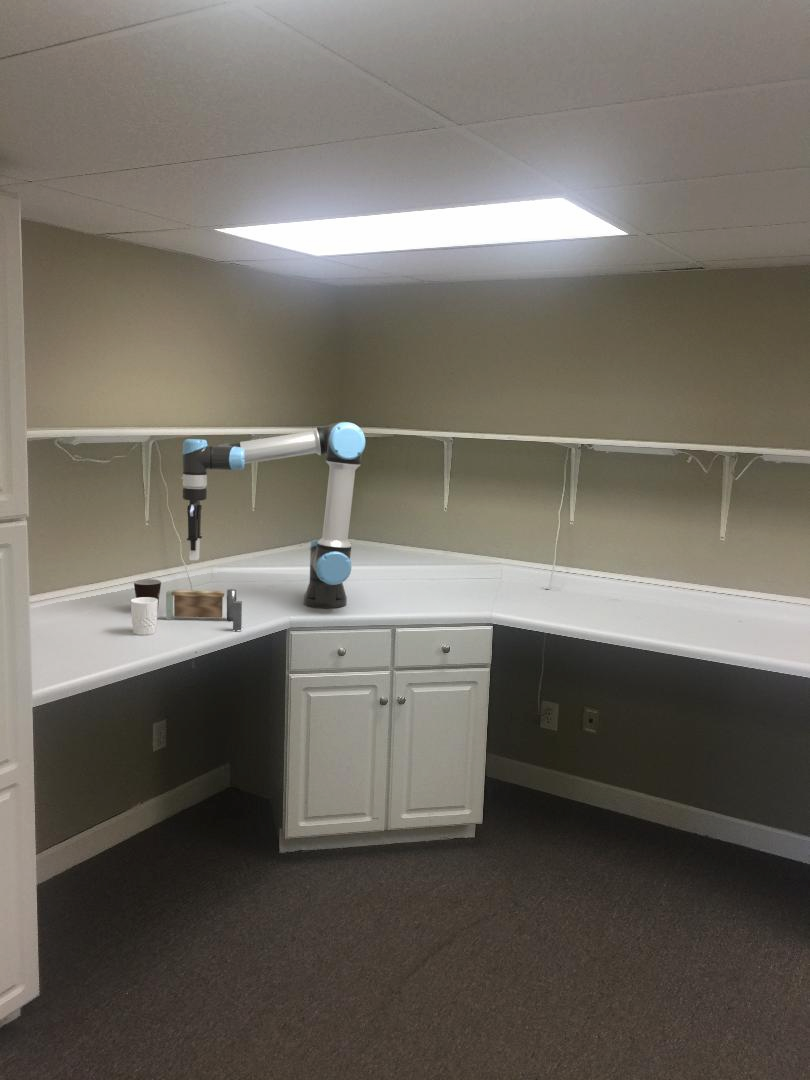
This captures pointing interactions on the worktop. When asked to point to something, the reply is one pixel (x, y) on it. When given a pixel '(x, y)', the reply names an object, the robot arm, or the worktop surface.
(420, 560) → the worktop surface
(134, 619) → the white cup
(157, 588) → the coffee mug
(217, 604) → the wooden flat block
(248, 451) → the robot arm
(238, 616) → the gate frame
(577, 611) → the worktop surface
